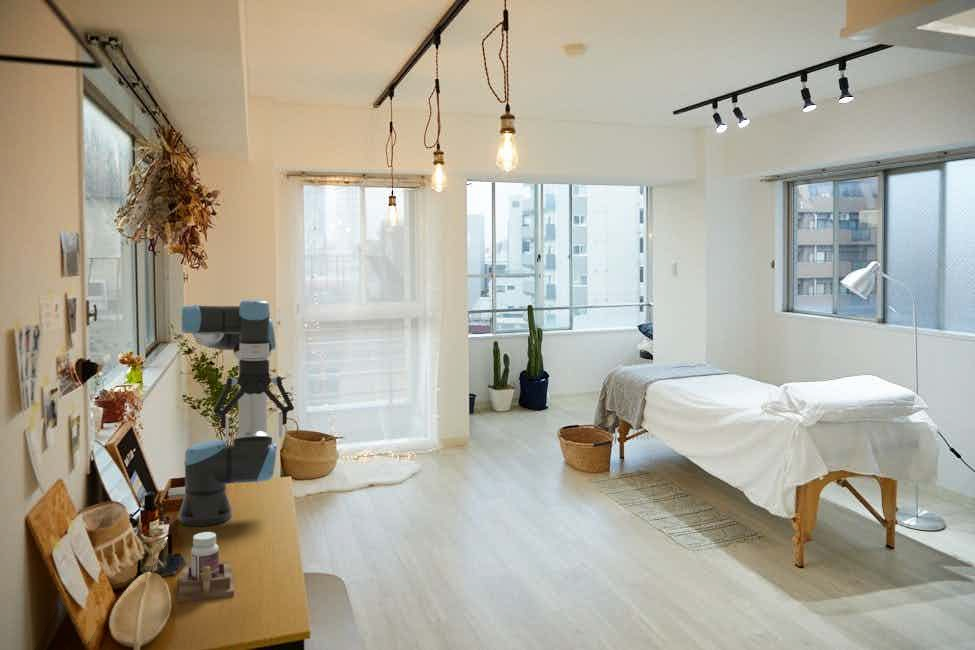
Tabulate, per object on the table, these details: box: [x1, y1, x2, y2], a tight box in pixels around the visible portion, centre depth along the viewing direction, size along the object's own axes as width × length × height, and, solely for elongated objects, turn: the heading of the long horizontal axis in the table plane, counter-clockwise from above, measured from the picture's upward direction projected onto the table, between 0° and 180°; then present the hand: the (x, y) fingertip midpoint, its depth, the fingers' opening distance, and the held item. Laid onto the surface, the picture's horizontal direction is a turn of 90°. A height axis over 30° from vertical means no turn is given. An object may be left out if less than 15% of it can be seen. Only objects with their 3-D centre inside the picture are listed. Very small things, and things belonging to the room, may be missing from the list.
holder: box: [177, 561, 235, 604], centre depth 175 cm, size 14×12×7 cm
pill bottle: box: [190, 531, 220, 581], centre depth 175 cm, size 6×6×11 cm
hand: (254, 438), depth 194 cm, fingers open, 13 cm apart
